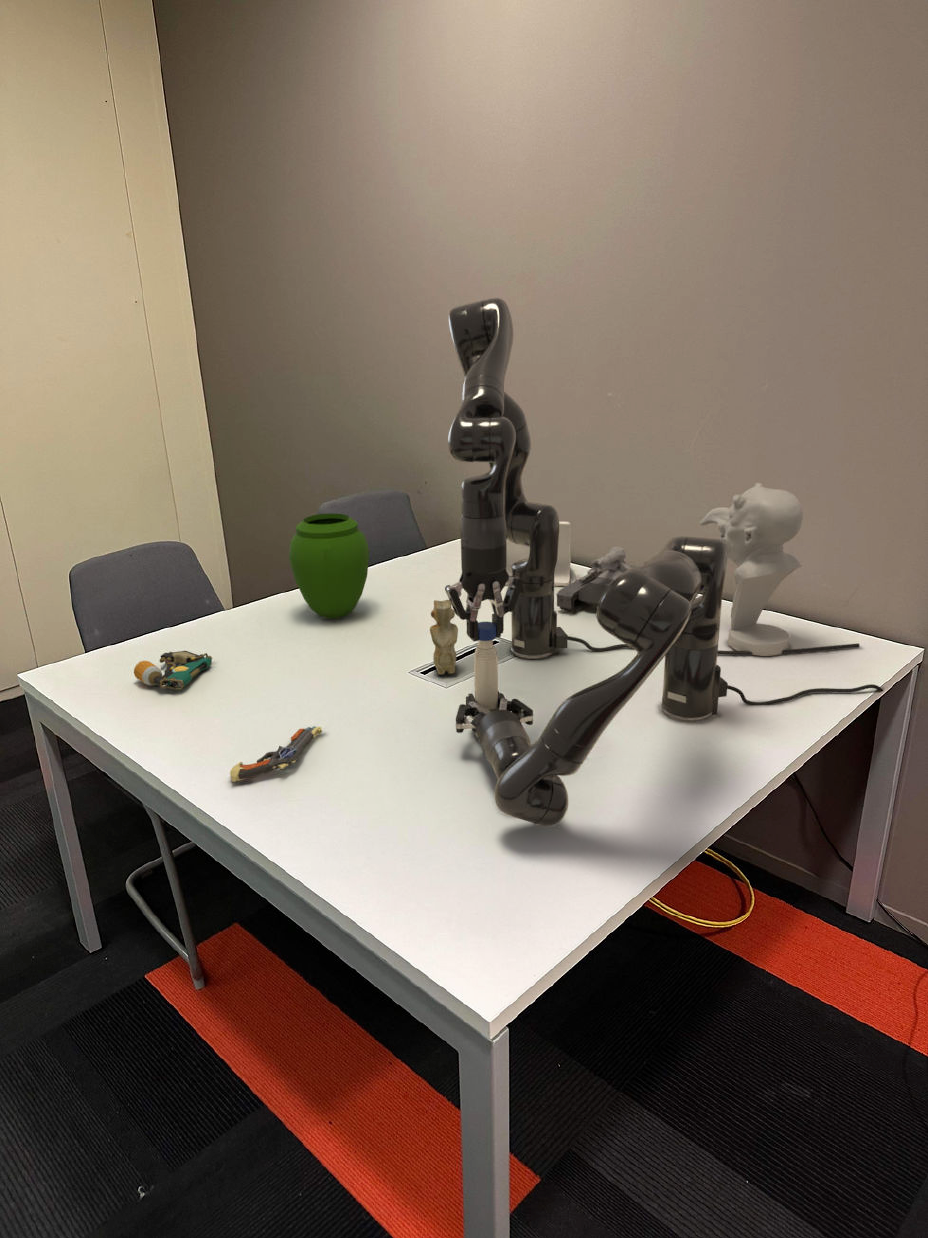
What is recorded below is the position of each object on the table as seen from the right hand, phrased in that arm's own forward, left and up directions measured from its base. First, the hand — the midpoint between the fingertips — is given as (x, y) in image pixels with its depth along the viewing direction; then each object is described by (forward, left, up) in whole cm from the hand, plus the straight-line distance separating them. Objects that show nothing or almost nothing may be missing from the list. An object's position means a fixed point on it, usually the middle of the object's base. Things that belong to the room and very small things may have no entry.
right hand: (483, 697), depth 153 cm
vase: (+24, -68, -6) cm, 72 cm away
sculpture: (+2, -27, -6) cm, 28 cm away
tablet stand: (-30, -85, -6) cm, 91 cm away
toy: (-46, -56, -6) cm, 72 cm away
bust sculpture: (-64, -25, -6) cm, 69 cm away
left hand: (0, +3, +13) cm, 13 cm away
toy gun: (+37, +2, -6) cm, 37 cm away
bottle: (0, +3, -6) cm, 7 cm away
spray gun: (+58, -38, -6) cm, 70 cm away
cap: (0, +3, +14) cm, 15 cm away
